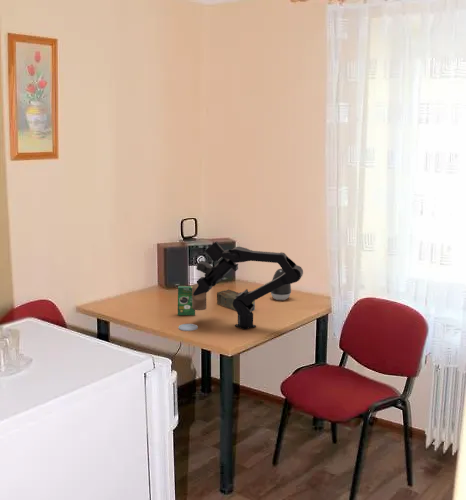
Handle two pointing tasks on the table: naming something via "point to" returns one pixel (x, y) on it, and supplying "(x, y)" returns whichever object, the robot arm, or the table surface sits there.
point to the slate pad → (188, 327)
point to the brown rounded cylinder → (198, 299)
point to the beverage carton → (228, 298)
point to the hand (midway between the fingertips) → (196, 293)
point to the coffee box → (185, 300)
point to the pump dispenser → (281, 288)
